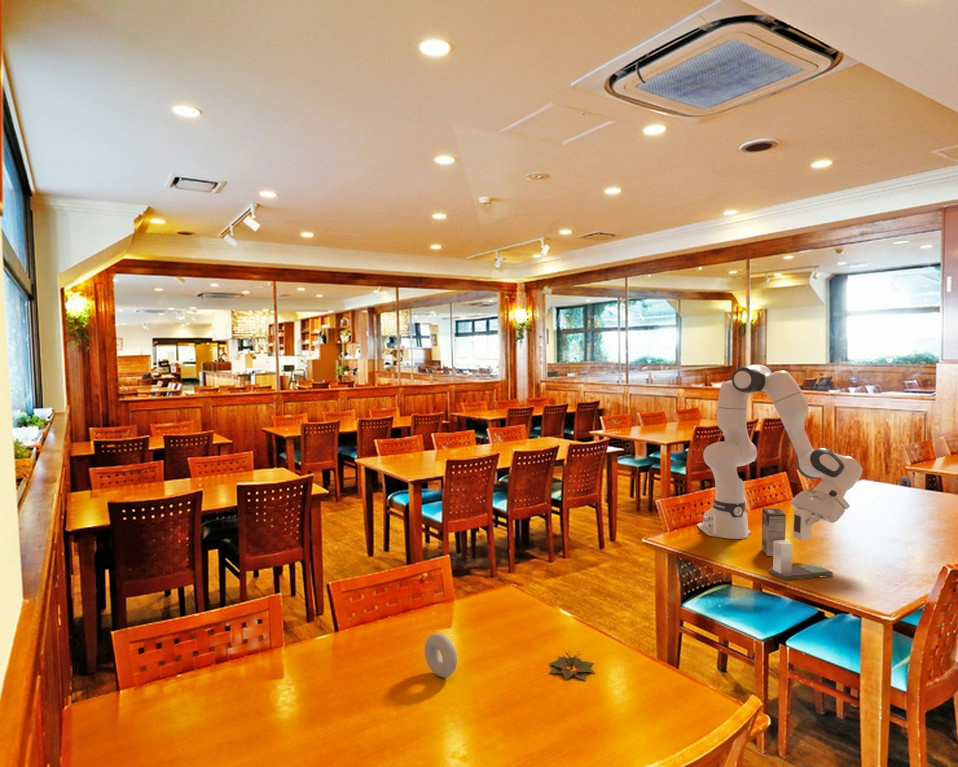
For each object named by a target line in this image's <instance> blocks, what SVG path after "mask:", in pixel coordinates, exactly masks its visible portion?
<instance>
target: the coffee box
mask: <svg viewBox="0 0 958 767" xmlns="http://www.w3.org/2000/svg"><path fill="white" fill-rule="evenodd" d="M761 514H762V515H761V518H762V519H761V550H762V549H763V550H762V551H763V552H765V553H766V554H765V553H764V554H765V555H766V557H767V556H773V542H774V541H778V540H785V541H786V524H787V522H786V519H787V516H786V514H785V513H784V511H782V510H781V509H780V508H767V507H766V508H762V511H761Z"/></svg>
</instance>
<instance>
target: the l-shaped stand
mask: <svg viewBox="0 0 958 767" xmlns="http://www.w3.org/2000/svg"><path fill="white" fill-rule="evenodd" d="M772 558H773V559H772V560H773V561H772V567H769V568H768V572H769V573H770V572H771V573H770V574H772V573H773V574H772V575H774V576H775V575H776V577H777V576H778V577H777V578H779V577H780V578H779V579H781V578H782V579H781V580H783V581H791V580H790V579H797V580H801V579H800V578H809V579H811V578H810V577H820V576H834V574H833V573H834V572H833V571H831V570H828V569H827V568H824V567H823V566H820V565H818V564H816V563H814V564H813V563H812V564H800V565H799V564H798V565H792V564H793V543H792V542H789V541H787V540H786V539H785V540H778V541H774V542H773V557H772Z"/></svg>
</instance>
